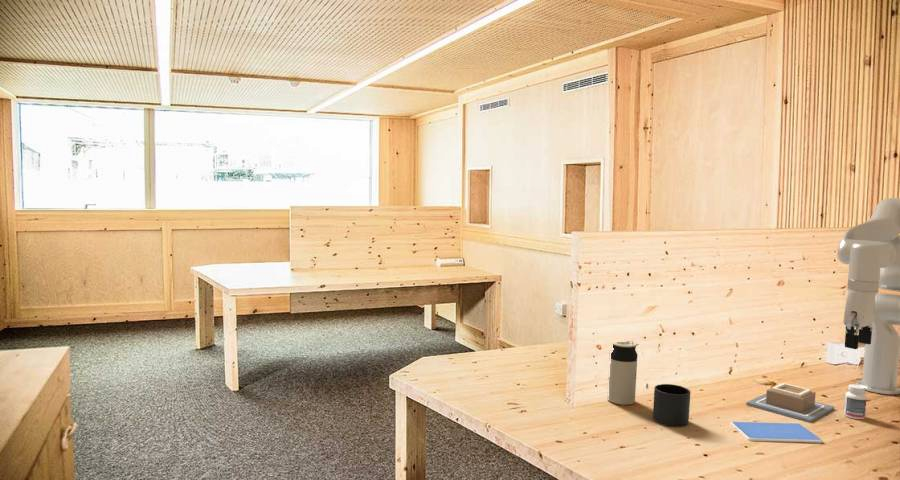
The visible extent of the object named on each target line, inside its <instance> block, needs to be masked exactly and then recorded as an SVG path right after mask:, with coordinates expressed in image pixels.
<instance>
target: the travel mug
mask: <svg viewBox="0 0 900 480" xmlns="http://www.w3.org/2000/svg"><path fill="white" fill-rule="evenodd" d="M637 346H638V343H637V342H636V341H633V340H629V341H627V342H617V343H613V348H614V350H613V352H612V353H611V364H610V377H609V376H608V380H609V397H608V396H607V399H608V398H609V400H608V401H609V402H610V403H612V404H614V405H618V406H631V405H633V404H635V402H636V388H637V385H636V384H637V372H638V371H637V370H638V369H637V368H638V353H637V350H636V349H637Z"/></svg>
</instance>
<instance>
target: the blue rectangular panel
mask: <svg viewBox="0 0 900 480" xmlns="http://www.w3.org/2000/svg"><path fill="white" fill-rule="evenodd" d="M730 425H731V426H732V427H733V428H734V429H735V430H736V431H737V432H738V433H740V435H741V436H743V437H744V438H745V439H746V440H747V441H749V442H777V443H778V442H780V443H782V442H783V443H808V444H811V443H812V444H813V443H814V444H815V443H816V444H822V443H824V441H823V439H822V438H821V437H819V436H817V435H816V434H815V433H813V432H812V431H811V430H809V429H808V428H807V427H805V426H804V425H802V424H800V423H797V422H794V423H793V422H789V423H788V422H757V421H755V422H753V421H752V422H751V421H750V422H749V421H731V422H730Z"/></svg>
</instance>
